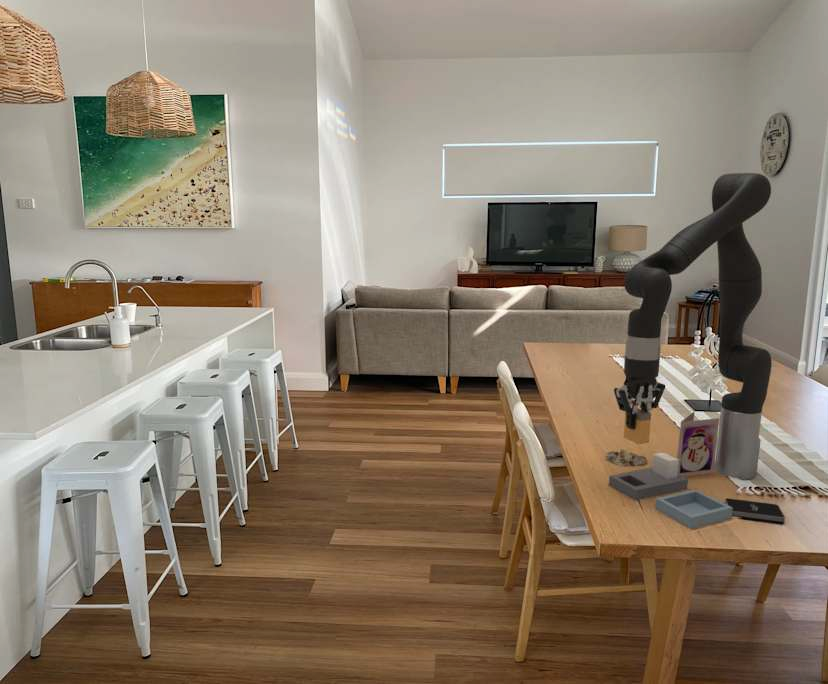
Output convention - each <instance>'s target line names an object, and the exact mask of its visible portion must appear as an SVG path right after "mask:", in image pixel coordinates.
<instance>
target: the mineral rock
mask: <svg viewBox="0 0 828 684" xmlns="http://www.w3.org/2000/svg"><path fill="white" fill-rule="evenodd" d="M605 460H606V461H607V462H609V463H611V464H613V465H615V466H619V467H642V466H647V464H648V460H647V458H646V457H645V456H643V455H639V454H636V453H633V452H627V450H626V449H620V451H617V450H616V451H614V450H611V451H606V452H605Z"/></svg>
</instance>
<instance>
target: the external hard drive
mask: <svg viewBox="0 0 828 684" xmlns="http://www.w3.org/2000/svg"><path fill="white" fill-rule="evenodd" d="M723 503H724V504H726V505H729V506H731V507H733V510H732V517H735V518H737V519H738V520H745V521H751V522H752V521H753V522H761V523H768V524H775V525H784V524H785V521H786V516H785V513H784V512H783V511H782V509H781V508H780V506H779V505H778V504H776V503H769V502H759V501H754V500H744V499H738V498H737V499H736V498H730V497H729V498H728V497H725V498H724V502H723Z"/></svg>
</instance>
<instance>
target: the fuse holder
mask: <svg viewBox="0 0 828 684" xmlns="http://www.w3.org/2000/svg"><path fill="white" fill-rule="evenodd" d="M652 467H653V466H652ZM652 467H646V468H642V469H637V470H631V471H627V472H622V473H621V472H620V473H617V474H611V475H609V478H608V486H609V487H611V488H612V489H614V490H615V491H617V492H619V493H621V494H622V495H625V496H627V497H629V498H630V499H632V500H634V501H639V500H644V499H650V498H654V497H657V496H658V497H659V496H663V495H668V494H673V493H677V492H681V491H686V490H688V484H689V479H688V478H686V477H685V476H680V475H678V474H677V478H674V479H669V480H667V479H665V478H663V477H661V476H659V475H657V474H655V473H653V472H652Z"/></svg>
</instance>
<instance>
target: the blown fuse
mask: <svg viewBox="0 0 828 684" xmlns="http://www.w3.org/2000/svg"><path fill="white" fill-rule="evenodd" d="M624 413H625V414H624V428H623V430H624V431H623V439H626V440H628V441H630V442H633V443H635V444H637V445H642V444H649V443H650V435H651V421H652V412H650V413H648V412H646V411H643V410H641V409H640V408H638V407H637V412H636V414H637V416H636V428H635V429H633V430H632V429H630V428H628V427H627V426H626V414H627V413H626V412H625V411H624Z"/></svg>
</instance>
